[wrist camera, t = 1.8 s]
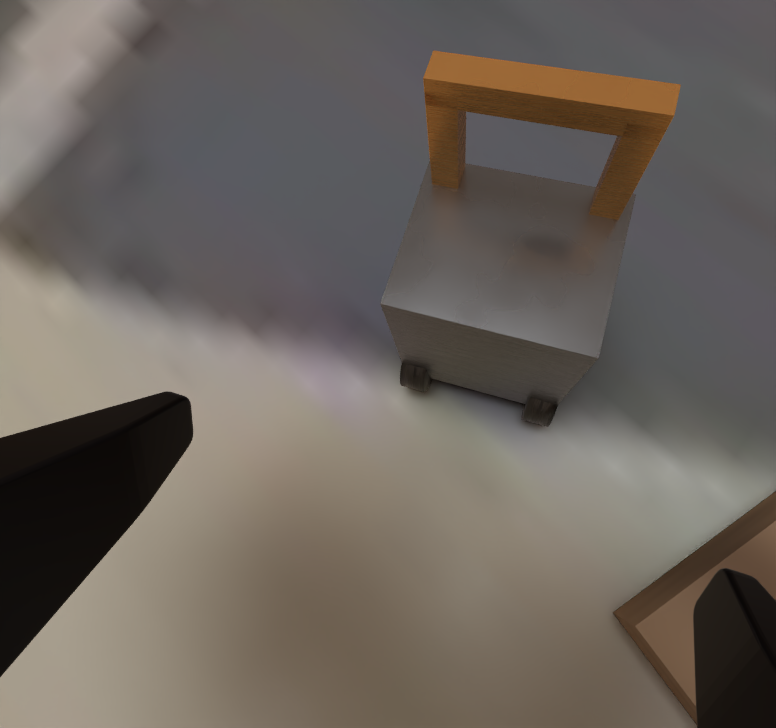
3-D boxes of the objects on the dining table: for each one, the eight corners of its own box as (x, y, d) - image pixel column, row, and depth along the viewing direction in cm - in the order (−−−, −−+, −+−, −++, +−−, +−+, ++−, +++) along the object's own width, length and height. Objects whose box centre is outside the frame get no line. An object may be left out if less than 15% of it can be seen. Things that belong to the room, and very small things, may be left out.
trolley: (542, 432, 21) (646, 325, 9) (404, 393, 22) (344, 254, 11) (575, 298, 23) (701, 60, 11) (444, 268, 24) (429, 25, 12)
